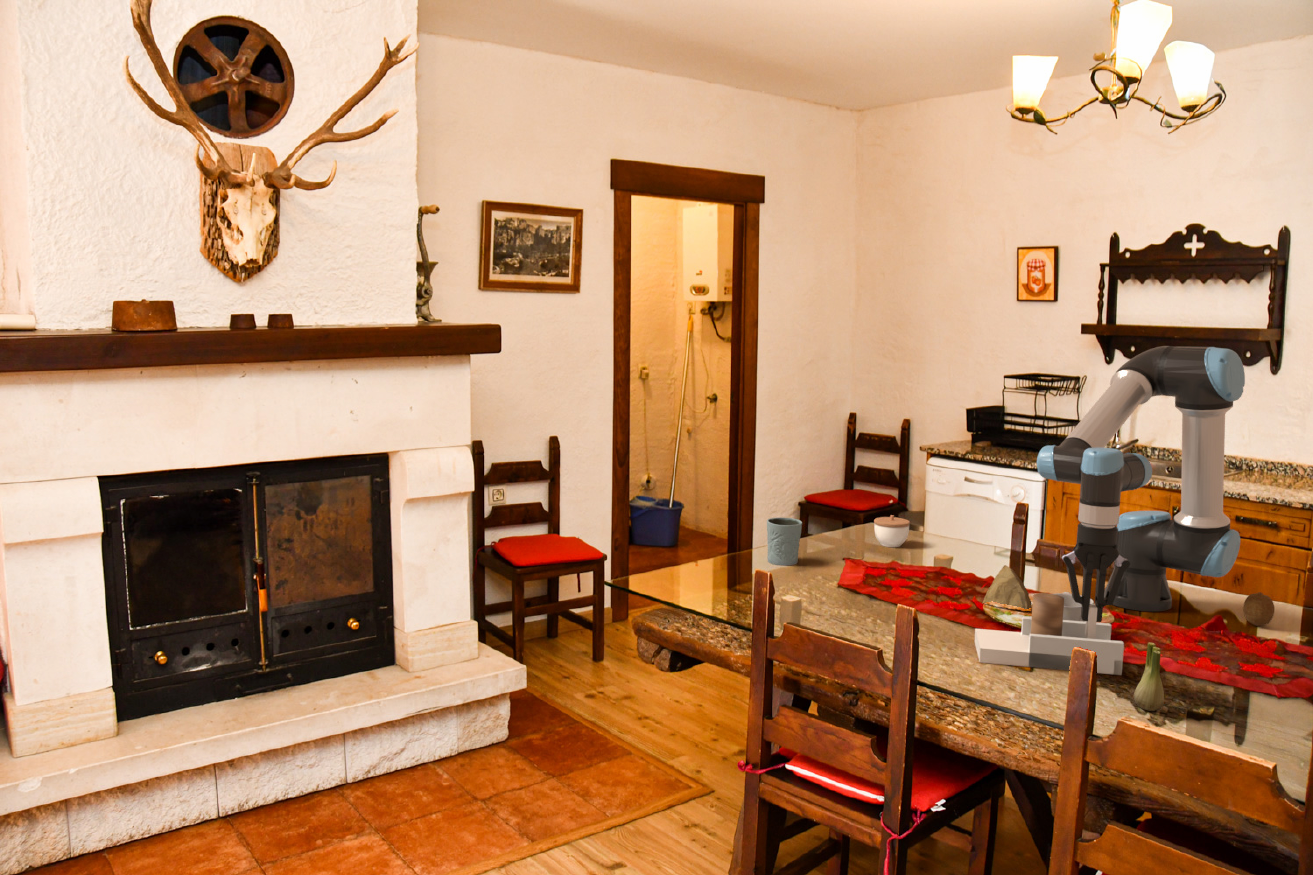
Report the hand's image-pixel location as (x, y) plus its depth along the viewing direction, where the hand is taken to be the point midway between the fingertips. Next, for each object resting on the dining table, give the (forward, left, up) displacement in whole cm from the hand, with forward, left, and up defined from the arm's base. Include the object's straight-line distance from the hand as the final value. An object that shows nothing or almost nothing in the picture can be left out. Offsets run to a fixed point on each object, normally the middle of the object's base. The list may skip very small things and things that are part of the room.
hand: (1090, 636), depth 200 cm
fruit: (-43, -36, -6) cm, 56 cm away
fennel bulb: (-6, +23, -6) cm, 24 cm away
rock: (+12, -35, -6) cm, 37 cm away
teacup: (+1, -20, -6) cm, 21 cm away
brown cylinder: (+8, 0, -2) cm, 9 cm away
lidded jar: (+40, -94, -6) cm, 102 cm away
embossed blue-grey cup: (+70, -64, -6) cm, 95 cm away
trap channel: (+8, 0, -5) cm, 10 cm away
